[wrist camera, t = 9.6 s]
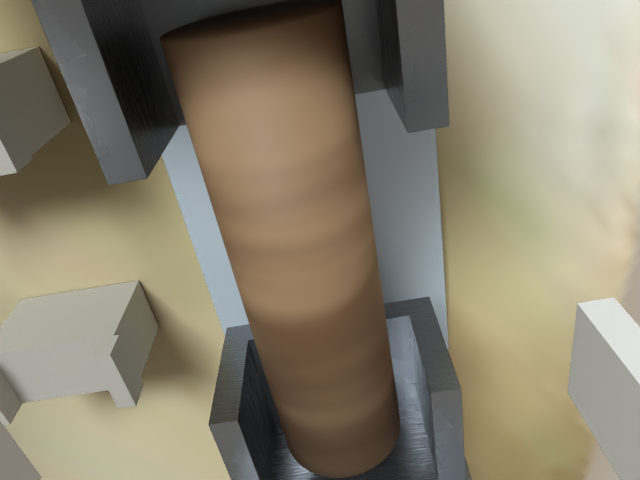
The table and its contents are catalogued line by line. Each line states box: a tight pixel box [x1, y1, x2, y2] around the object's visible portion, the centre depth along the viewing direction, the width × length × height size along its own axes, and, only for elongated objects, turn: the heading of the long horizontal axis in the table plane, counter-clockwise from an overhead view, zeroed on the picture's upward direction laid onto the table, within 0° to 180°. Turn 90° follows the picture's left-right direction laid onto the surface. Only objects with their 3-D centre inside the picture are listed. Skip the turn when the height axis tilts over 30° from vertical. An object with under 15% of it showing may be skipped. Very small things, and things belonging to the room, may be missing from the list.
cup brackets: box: [31, 0, 472, 480], centre depth 18 cm, size 9×21×12 cm, turn 10°
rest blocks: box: [0, 47, 159, 425], centre depth 21 cm, size 6×14×5 cm, turn 10°
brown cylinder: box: [160, 0, 400, 478], centre depth 17 cm, size 15×4×4 cm, turn 10°
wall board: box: [162, 89, 449, 350], centre depth 22 cm, size 11×21×1 cm, turn 10°
